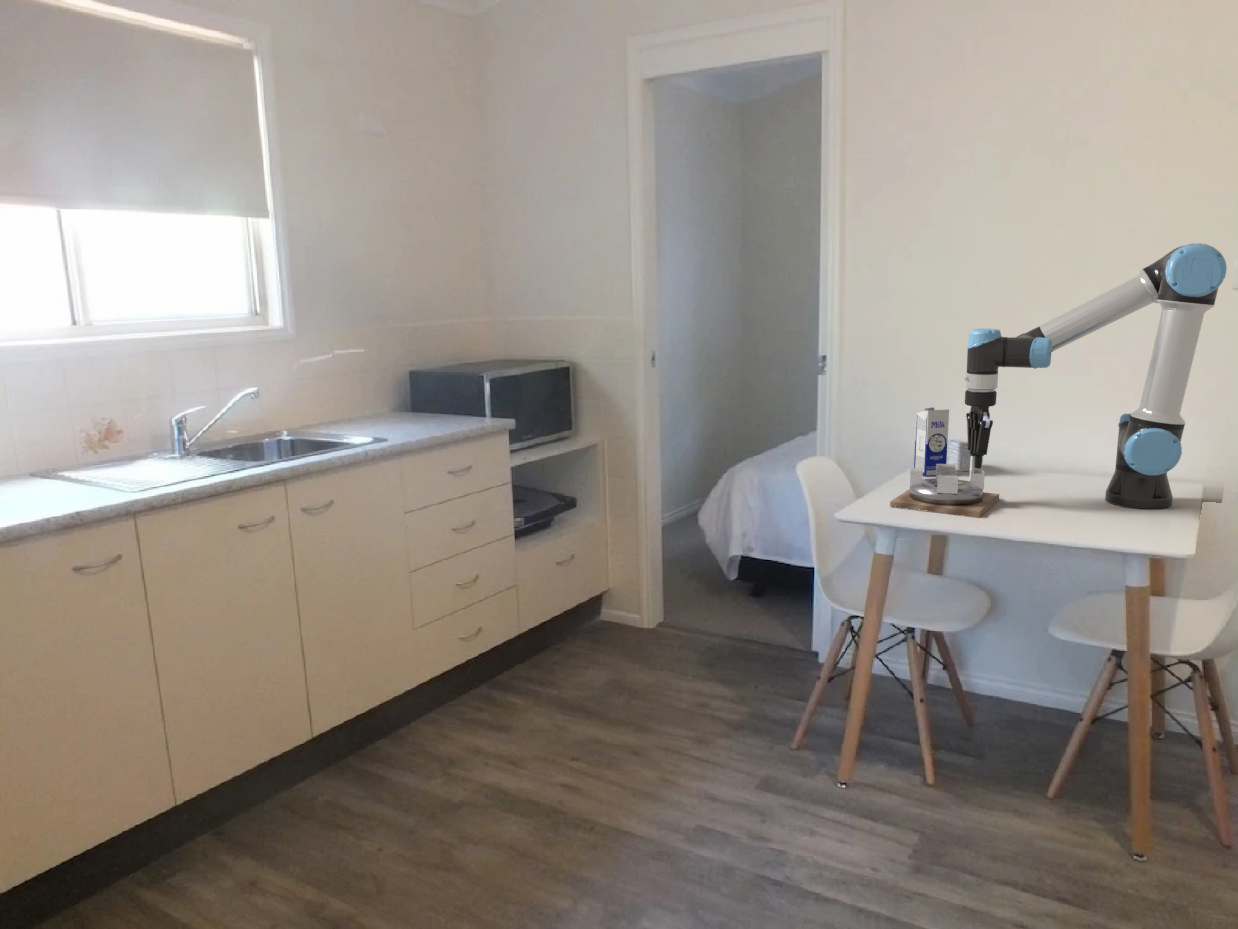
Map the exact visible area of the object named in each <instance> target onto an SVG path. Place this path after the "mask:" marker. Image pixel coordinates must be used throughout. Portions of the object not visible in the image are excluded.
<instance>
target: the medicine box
mask: <svg viewBox="0 0 1238 929" xmlns="http://www.w3.org/2000/svg"><path fill="white" fill-rule="evenodd" d="M970 460H971V455H970V450H968V440H965V439H962V438H955V439H953V438H952V439H948V443H947V462H946V464H955V465H956V470H957V471H958V472H959V471H960V472H970Z"/></svg>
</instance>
